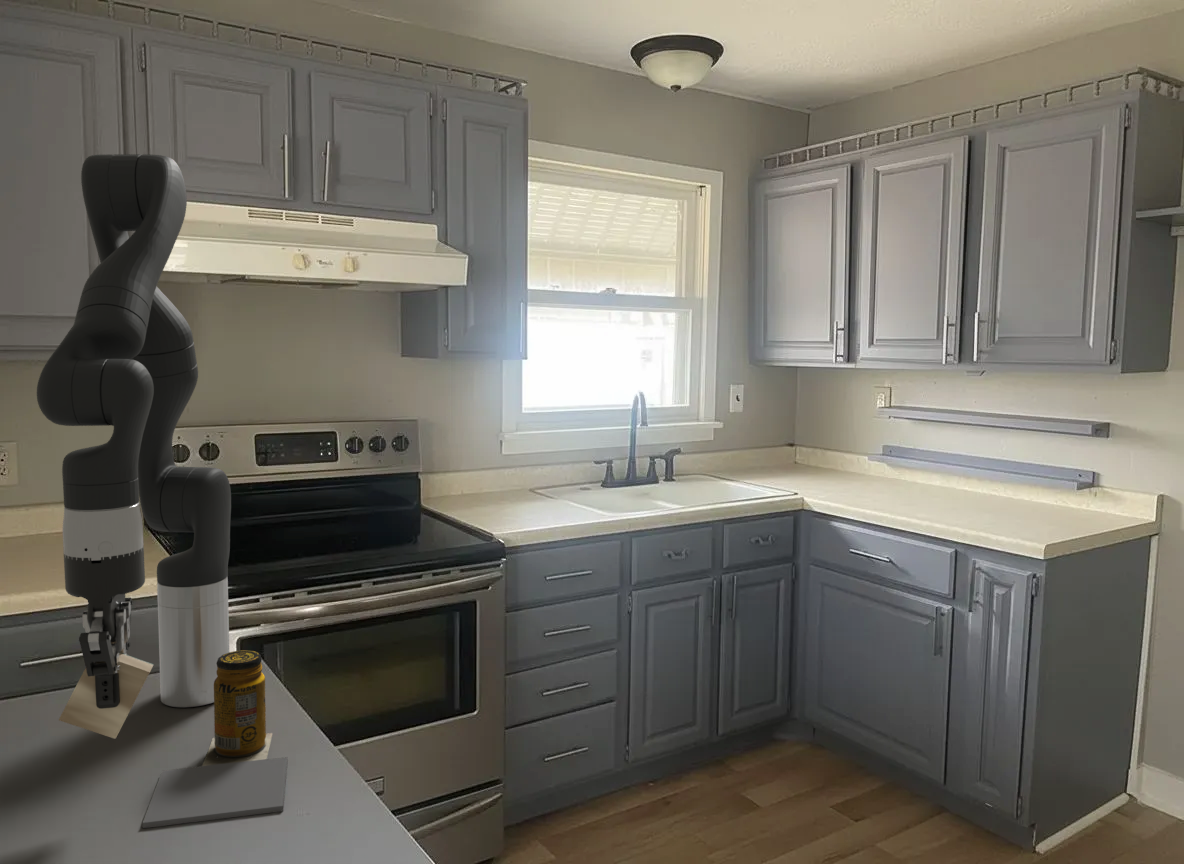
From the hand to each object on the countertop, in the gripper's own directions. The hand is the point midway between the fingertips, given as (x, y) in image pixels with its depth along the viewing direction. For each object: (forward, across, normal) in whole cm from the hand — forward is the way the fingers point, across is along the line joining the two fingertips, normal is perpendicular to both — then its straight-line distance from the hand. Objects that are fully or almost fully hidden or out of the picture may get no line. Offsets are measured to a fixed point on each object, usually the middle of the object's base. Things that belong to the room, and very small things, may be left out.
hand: (111, 701), depth 97 cm
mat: (+12, 0, +11) cm, 16 cm away
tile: (+2, 0, -2) cm, 3 cm away
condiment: (+12, -11, +12) cm, 20 cm away
